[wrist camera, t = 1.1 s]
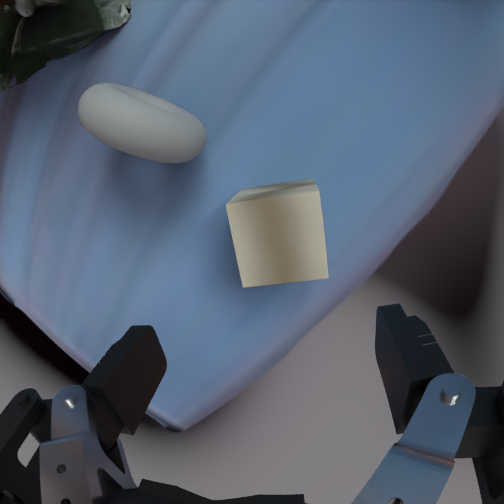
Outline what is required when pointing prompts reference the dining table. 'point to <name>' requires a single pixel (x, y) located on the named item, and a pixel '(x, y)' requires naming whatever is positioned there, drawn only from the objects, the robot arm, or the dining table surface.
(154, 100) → the donut
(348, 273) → the dining table surface
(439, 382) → the robot arm
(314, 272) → the birch cube
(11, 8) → the rose bouquet
